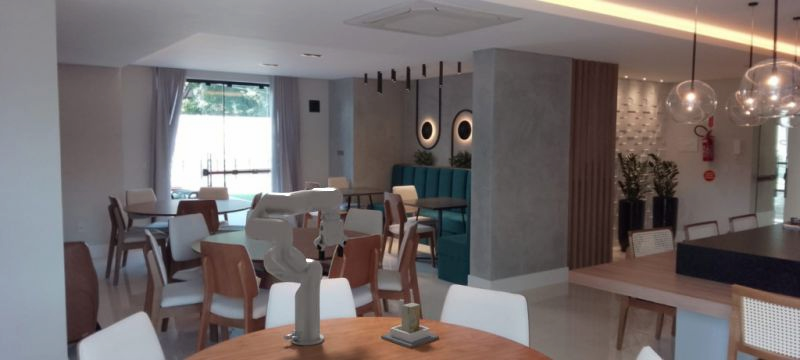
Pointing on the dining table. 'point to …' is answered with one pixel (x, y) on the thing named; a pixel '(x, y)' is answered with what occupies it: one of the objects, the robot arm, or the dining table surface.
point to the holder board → (410, 336)
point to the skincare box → (410, 317)
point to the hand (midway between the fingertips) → (331, 258)
